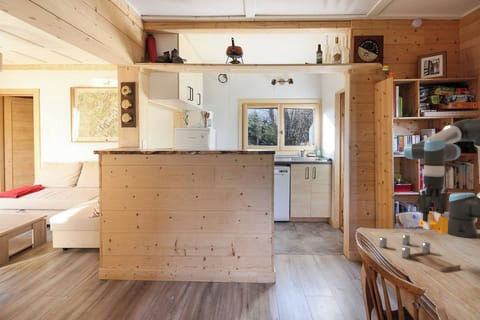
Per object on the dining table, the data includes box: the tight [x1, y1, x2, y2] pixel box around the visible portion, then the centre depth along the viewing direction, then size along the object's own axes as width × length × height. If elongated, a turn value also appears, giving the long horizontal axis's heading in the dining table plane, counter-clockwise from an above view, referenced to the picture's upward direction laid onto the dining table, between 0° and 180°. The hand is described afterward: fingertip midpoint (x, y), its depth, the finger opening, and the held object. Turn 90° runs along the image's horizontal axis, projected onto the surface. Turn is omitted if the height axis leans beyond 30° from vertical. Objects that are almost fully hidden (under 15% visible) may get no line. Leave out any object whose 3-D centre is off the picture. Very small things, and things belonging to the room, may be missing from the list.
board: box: [410, 251, 461, 273], centre depth 132 cm, size 10×16×2 cm, turn 15°
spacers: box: [379, 234, 431, 260], centre depth 147 cm, size 17×18×4 cm
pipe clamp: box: [419, 211, 449, 235], centre depth 131 cm, size 12×4×6 cm, turn 1°
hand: (431, 228), depth 132 cm, fingers closed on pipe clamp, 5 cm apart
